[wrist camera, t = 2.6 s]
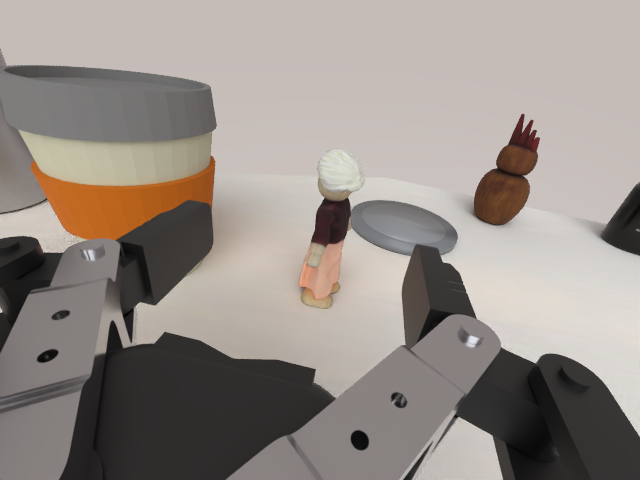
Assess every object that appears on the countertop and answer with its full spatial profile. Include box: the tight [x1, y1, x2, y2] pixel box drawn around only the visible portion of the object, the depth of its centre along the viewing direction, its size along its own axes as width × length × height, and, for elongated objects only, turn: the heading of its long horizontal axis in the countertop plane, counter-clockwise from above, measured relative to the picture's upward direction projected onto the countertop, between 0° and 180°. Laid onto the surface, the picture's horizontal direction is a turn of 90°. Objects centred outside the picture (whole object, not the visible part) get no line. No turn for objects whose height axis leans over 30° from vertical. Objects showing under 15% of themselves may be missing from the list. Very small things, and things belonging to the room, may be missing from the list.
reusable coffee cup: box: [0, 65, 217, 276], centre depth 24 cm, size 12×13×15 cm
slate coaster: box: [350, 200, 458, 256], centre depth 40 cm, size 14×14×1 cm
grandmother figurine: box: [299, 149, 365, 309], centre depth 23 cm, size 8×4×13 cm, turn 168°
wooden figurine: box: [474, 114, 540, 225], centre depth 42 cm, size 7×6×15 cm
